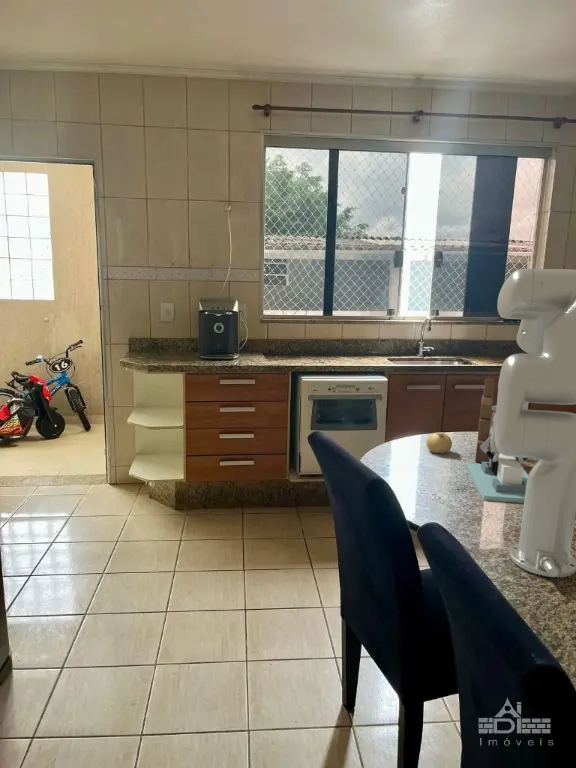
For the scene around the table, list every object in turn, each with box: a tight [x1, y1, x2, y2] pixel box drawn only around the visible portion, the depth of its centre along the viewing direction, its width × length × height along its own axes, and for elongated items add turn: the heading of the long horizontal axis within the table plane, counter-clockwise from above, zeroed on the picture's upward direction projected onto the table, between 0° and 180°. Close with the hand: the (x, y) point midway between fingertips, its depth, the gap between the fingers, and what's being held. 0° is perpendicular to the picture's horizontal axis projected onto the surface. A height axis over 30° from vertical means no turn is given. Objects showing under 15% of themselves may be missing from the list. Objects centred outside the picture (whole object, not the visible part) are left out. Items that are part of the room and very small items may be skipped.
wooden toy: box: [475, 378, 496, 464], centre depth 177 cm, size 16×7×25 cm, turn 160°
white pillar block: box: [489, 450, 525, 485], centre depth 155 cm, size 14×5×5 cm, turn 174°
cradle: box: [465, 462, 529, 504], centre depth 156 cm, size 24×16×3 cm, turn 174°
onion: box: [425, 431, 453, 455], centre depth 181 cm, size 8×8×7 cm
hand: (504, 474), depth 155 cm, fingers closed on white pillar block, 4 cm apart
